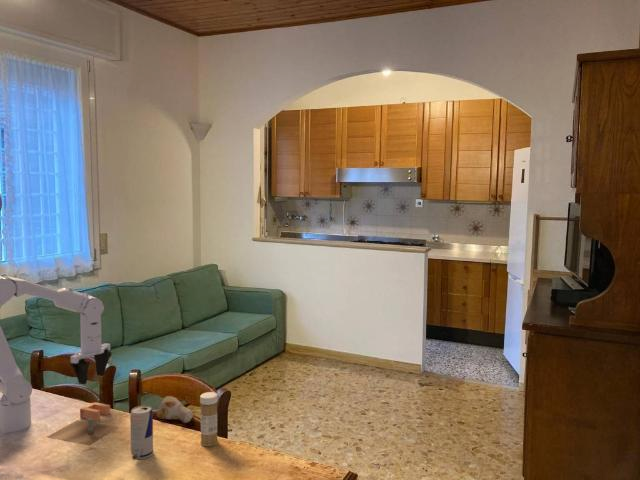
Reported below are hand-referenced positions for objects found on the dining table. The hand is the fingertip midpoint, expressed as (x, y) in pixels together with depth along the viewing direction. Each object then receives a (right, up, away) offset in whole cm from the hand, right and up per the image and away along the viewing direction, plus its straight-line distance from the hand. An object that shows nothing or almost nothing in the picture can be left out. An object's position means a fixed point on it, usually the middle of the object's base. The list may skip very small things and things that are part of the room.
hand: (91, 379), depth 155 cm
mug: (+27, -11, -5) cm, 30 cm away
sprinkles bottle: (+40, -12, -19) cm, 46 cm away
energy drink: (+24, -13, -25) cm, 37 cm away
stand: (+5, -11, -16) cm, 21 cm away
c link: (+4, -10, -6) cm, 12 cm away
